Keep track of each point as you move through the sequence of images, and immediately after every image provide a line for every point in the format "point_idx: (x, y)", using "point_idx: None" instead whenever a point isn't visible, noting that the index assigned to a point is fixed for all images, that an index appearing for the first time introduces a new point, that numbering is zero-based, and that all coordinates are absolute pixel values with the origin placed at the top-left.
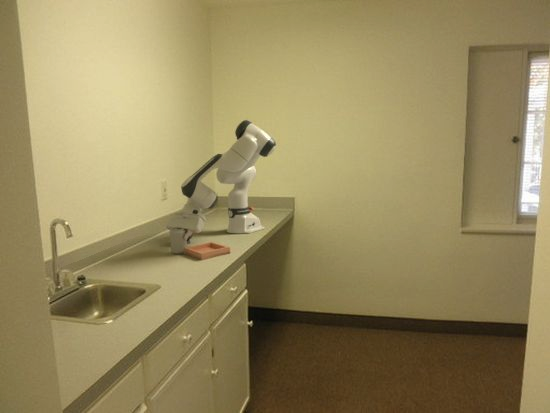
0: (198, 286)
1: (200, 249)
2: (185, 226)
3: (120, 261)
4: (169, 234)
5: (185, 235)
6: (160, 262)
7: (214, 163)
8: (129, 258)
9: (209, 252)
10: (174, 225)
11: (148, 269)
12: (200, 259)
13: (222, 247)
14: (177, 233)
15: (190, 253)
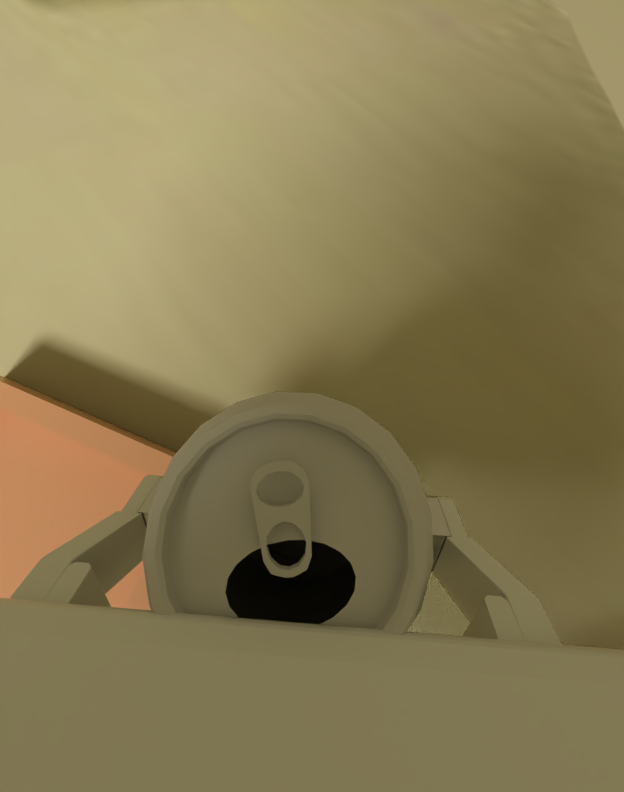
0: None
1: (124, 605)
2: (107, 658)
3: (534, 185)
4: (455, 514)
5: (137, 500)
6: (266, 247)
7: None
8: (542, 250)
9: None
10: (488, 689)
11: (241, 131)
12: (21, 384)
13: None
14: (216, 415)
15: (133, 436)
